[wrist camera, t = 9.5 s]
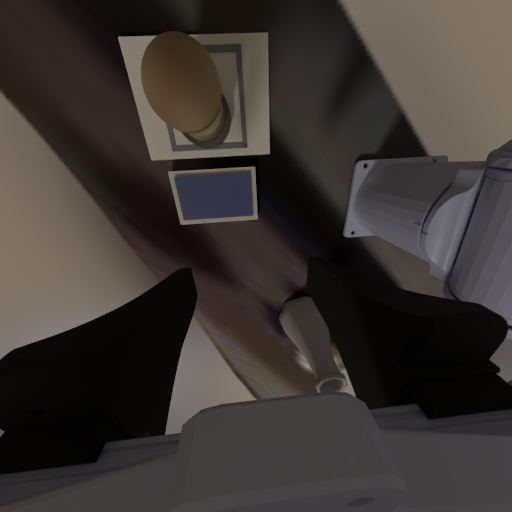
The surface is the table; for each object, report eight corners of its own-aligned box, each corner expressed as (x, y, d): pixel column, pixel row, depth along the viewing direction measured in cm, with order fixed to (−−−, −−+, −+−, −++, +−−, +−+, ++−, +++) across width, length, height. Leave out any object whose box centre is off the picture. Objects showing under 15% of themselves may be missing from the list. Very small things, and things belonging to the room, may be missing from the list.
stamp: (227, 84, 15) (216, 22, 9) (233, 146, 17) (228, 132, 11) (172, 87, 15) (123, 27, 9) (185, 150, 17) (151, 137, 10)
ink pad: (254, 166, 18) (255, 166, 17) (257, 216, 20) (258, 220, 19) (171, 171, 18) (166, 171, 17) (183, 222, 20) (179, 225, 19)
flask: (278, 296, 25) (299, 367, 16) (329, 292, 26) (376, 360, 17) (277, 333, 29) (293, 409, 20) (322, 329, 29) (359, 403, 20)
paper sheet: (267, 34, 14) (268, 31, 14) (269, 154, 18) (270, 153, 17) (120, 39, 14) (117, 35, 13) (152, 160, 17) (150, 160, 17)
